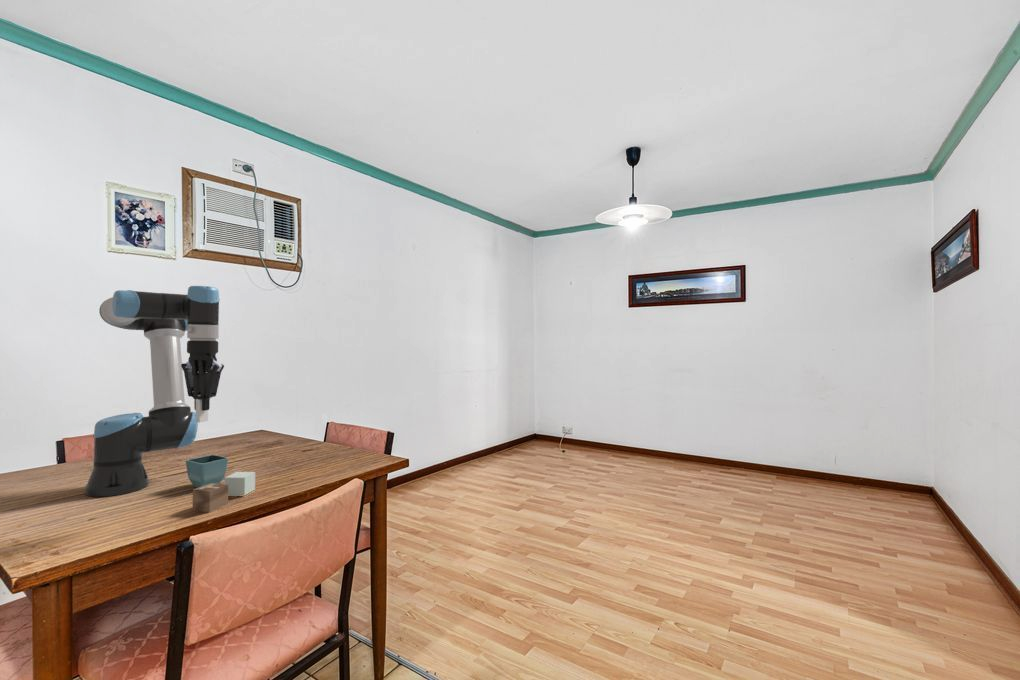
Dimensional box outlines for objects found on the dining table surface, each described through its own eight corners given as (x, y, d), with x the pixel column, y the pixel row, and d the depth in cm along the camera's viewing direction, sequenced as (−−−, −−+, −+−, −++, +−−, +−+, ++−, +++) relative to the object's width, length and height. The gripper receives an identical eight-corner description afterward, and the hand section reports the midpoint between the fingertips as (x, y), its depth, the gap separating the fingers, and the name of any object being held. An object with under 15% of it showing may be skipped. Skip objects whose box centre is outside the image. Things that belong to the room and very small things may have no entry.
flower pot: (228, 484, 151) (229, 457, 151) (201, 492, 143) (201, 463, 143) (212, 480, 154) (212, 454, 154) (184, 488, 146) (184, 460, 146)
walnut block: (210, 491, 126) (209, 512, 126) (228, 484, 132) (228, 505, 132) (192, 489, 128) (192, 510, 128) (211, 482, 134) (211, 503, 134)
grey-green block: (224, 497, 139) (224, 477, 139) (236, 490, 145) (236, 471, 145) (244, 497, 139) (244, 477, 139) (255, 490, 145) (255, 471, 145)
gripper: (172, 339, 129) (171, 422, 129) (209, 340, 126) (208, 425, 126) (196, 339, 136) (195, 418, 136) (232, 340, 133) (231, 420, 133)
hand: (201, 421), depth 131 cm, fingers closed
